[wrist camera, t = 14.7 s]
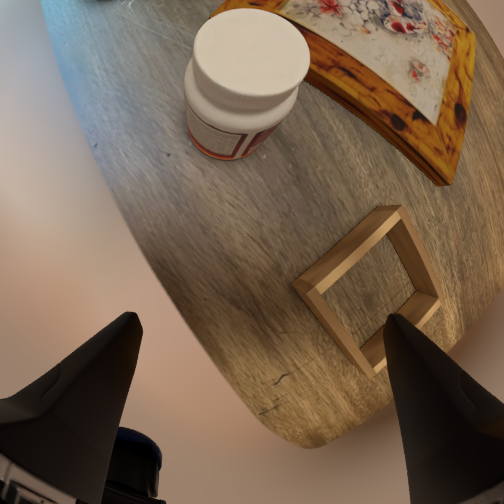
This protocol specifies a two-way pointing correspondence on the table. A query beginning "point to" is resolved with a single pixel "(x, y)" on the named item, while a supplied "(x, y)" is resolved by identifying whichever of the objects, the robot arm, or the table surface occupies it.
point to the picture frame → (390, 69)
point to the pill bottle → (242, 80)
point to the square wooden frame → (347, 255)
